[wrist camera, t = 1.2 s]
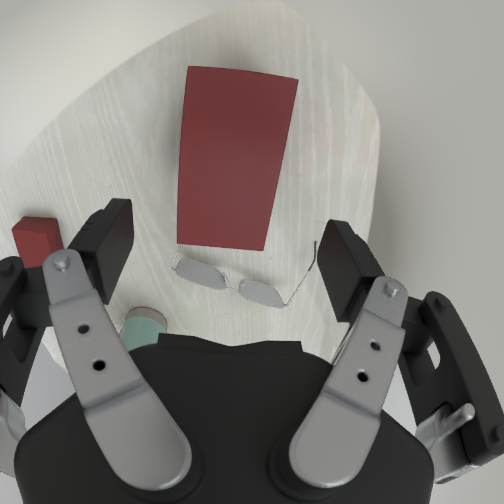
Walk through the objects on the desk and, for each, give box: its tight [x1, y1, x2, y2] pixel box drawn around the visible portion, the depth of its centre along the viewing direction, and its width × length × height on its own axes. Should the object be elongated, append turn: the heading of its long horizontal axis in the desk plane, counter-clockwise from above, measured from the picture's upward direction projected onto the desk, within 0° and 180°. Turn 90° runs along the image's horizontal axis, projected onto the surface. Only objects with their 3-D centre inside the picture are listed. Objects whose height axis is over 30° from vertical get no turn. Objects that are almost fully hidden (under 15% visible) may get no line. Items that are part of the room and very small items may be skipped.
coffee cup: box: [119, 307, 167, 351], centre depth 33 cm, size 9×8×12 cm
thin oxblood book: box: [177, 66, 298, 251], centre depth 18 cm, size 12×6×2 cm, turn 171°
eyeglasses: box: [171, 241, 316, 308], centre depth 30 cm, size 14×8×4 cm, turn 63°
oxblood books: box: [12, 217, 64, 268], centre depth 29 cm, size 12×6×3 cm, turn 171°
